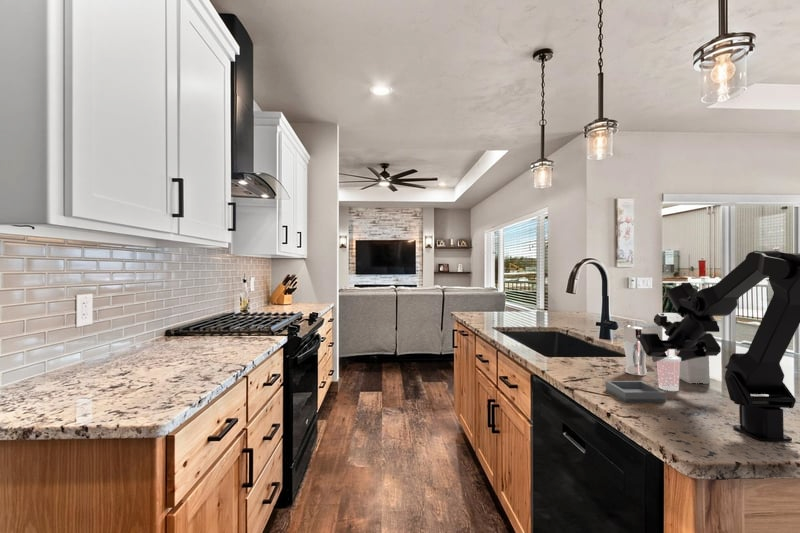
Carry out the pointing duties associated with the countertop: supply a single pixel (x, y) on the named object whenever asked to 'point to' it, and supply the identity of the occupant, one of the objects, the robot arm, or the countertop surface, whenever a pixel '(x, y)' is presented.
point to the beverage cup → (669, 372)
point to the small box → (695, 370)
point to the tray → (635, 391)
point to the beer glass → (634, 350)
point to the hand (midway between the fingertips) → (665, 360)
